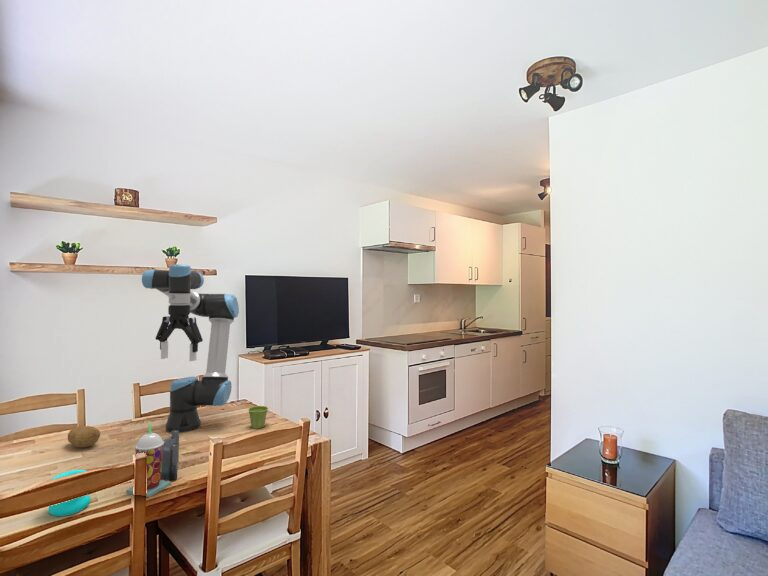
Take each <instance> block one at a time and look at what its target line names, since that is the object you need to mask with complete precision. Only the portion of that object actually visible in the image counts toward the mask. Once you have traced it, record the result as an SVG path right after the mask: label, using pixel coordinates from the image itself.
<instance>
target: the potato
mask: <svg viewBox="0 0 768 576" xmlns="http://www.w3.org/2000/svg"><path fill="white" fill-rule="evenodd" d="M100 437H101V431H100V429H98V428H96V427H94V426H89V425H86V426H85V425H84V426H83V425H79V426H76V427H73V428H71V429H70V430H69V431H68V434H67V441H68V442H69V443H70V444H71V446H73V447H75V448H76V447H77V448H89V447H91V446H93V445H94V444H95V443H97V442H98V441H99V439H100Z"/></svg>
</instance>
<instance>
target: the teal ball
mask: <svg viewBox="0 0 768 576" xmlns="http://www.w3.org/2000/svg"><path fill="white" fill-rule="evenodd" d="M86 471H87V470H85V469H73V470H69V471H64V472H61V473H59V474H58V475H55V476H53V477H52V478H51V480H53V479H56V478H60V477H63V476H68V475H72V474H76V473H81V472H86ZM51 480H50V481H51ZM90 502H91V496H90V495H89V494H88V495H86V496H83V497H79V498H76V499H73V500H70V501H67V502H63V503H60V504H57V505H53V506H49V505H48V509H47V511H48V513H49V514H50V515H51V516H55V517H66V516H70V515H74V514H76V513H79V512H80V511H82V510H84V509H85V508H87V507H88V505H90Z"/></svg>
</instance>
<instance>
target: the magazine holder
mask: <svg viewBox="0 0 768 576" xmlns="http://www.w3.org/2000/svg"><path fill="white" fill-rule="evenodd" d="M170 433H171V435H170V436H169V437H167V438H164V439H162V440H163V441H164V449H163V461H162V473H161V480H165V481H169V482H173V481H176V480H178V466H179V465H178V463H179V457H180V456H179V455H180V433H179V430H172V431H171V432H170Z"/></svg>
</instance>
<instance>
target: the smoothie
mask: <svg viewBox="0 0 768 576" xmlns="http://www.w3.org/2000/svg"><path fill="white" fill-rule="evenodd" d="M163 440H164V439H163V438H162V436H161V435H160V434H158V433H156V432H152V424H149V425H148V433H145V434H144V435H142V436H141V437H140V438H139V439H138V440H137V443H136V444H135V446H134V448H135V455H136V454H137V453H143V452H144V453H146V455H147V489H151V488H154V487H156V486H158V485H159V482H160V481H161V480H162V479H161V473H162V461H163V449H164V441H163Z"/></svg>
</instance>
